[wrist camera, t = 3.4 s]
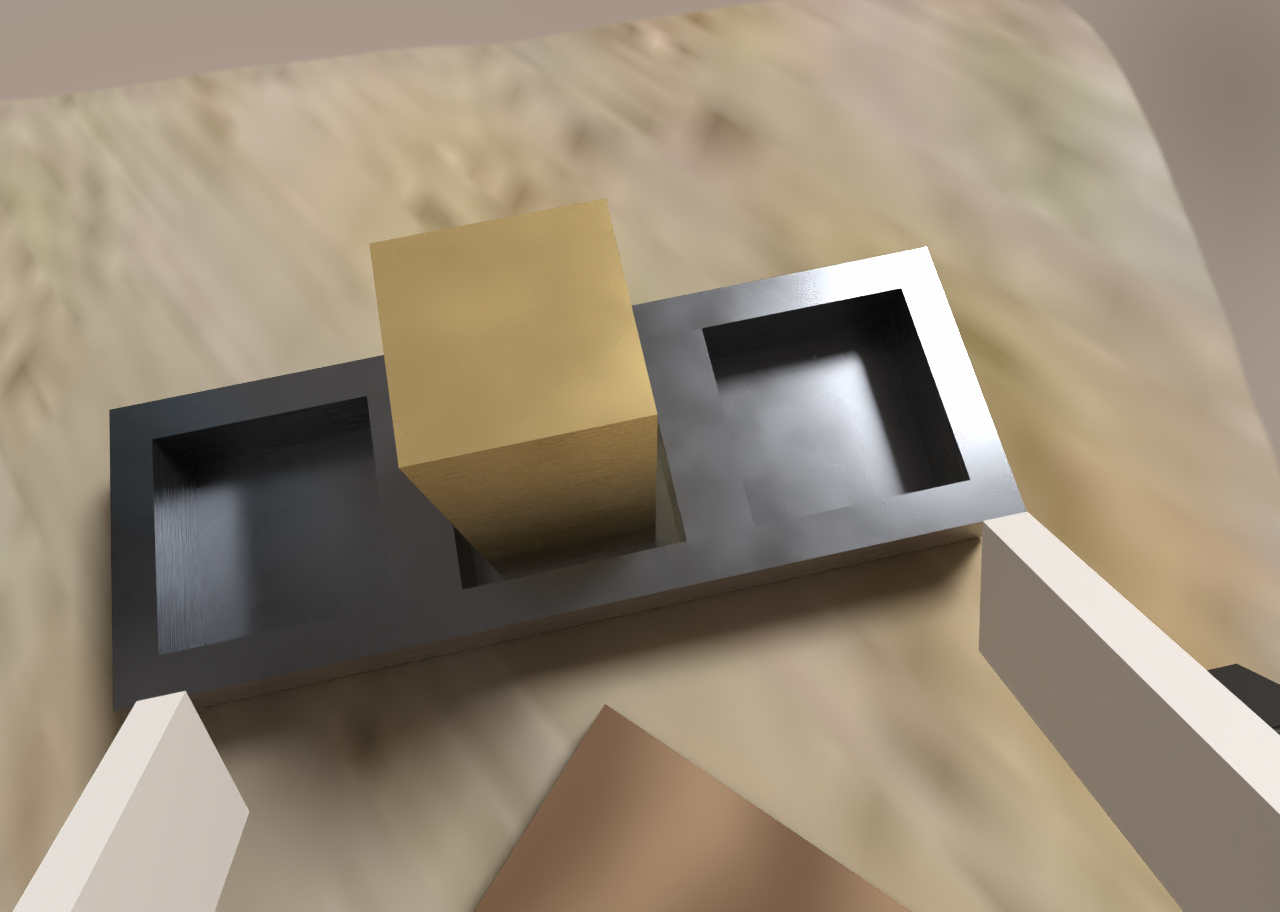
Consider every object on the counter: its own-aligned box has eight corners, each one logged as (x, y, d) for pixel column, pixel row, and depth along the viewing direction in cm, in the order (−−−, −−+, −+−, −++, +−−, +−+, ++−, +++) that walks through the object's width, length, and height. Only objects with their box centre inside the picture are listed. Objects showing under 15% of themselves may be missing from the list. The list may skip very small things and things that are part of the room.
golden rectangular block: (499, 574, 26) (398, 467, 16) (475, 428, 28) (369, 243, 17) (655, 540, 26) (657, 414, 16) (623, 398, 28) (605, 198, 18)
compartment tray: (173, 714, 25) (113, 711, 23) (164, 442, 28) (109, 409, 25) (986, 535, 27) (1026, 511, 24) (900, 293, 30) (926, 246, 27)
